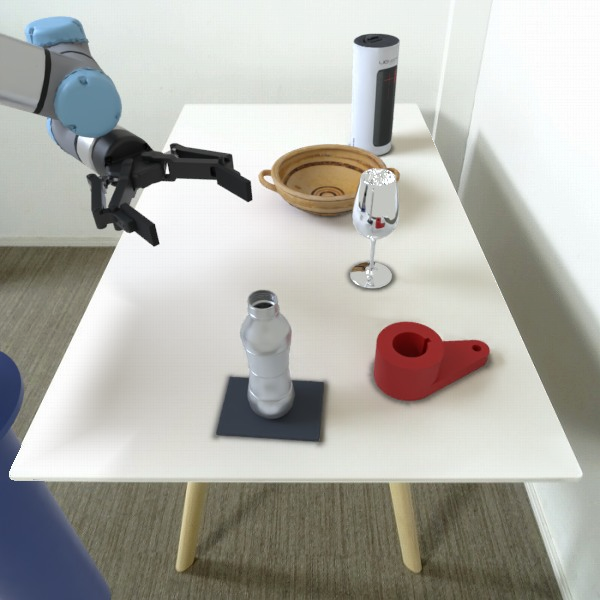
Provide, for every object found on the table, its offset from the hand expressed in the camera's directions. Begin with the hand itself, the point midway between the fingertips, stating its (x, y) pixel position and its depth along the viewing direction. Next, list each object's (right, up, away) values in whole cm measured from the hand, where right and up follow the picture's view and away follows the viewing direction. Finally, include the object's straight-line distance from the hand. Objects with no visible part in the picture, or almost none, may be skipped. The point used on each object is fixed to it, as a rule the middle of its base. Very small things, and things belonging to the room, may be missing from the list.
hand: (204, 212), depth 65 cm
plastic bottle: (+7, -25, +13) cm, 29 cm away
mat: (+7, -26, +13) cm, 30 cm away
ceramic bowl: (+17, +11, +55) cm, 58 cm away
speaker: (+29, +28, +74) cm, 84 cm away
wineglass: (+24, -6, +35) cm, 43 cm away
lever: (+31, -21, +18) cm, 41 cm away
